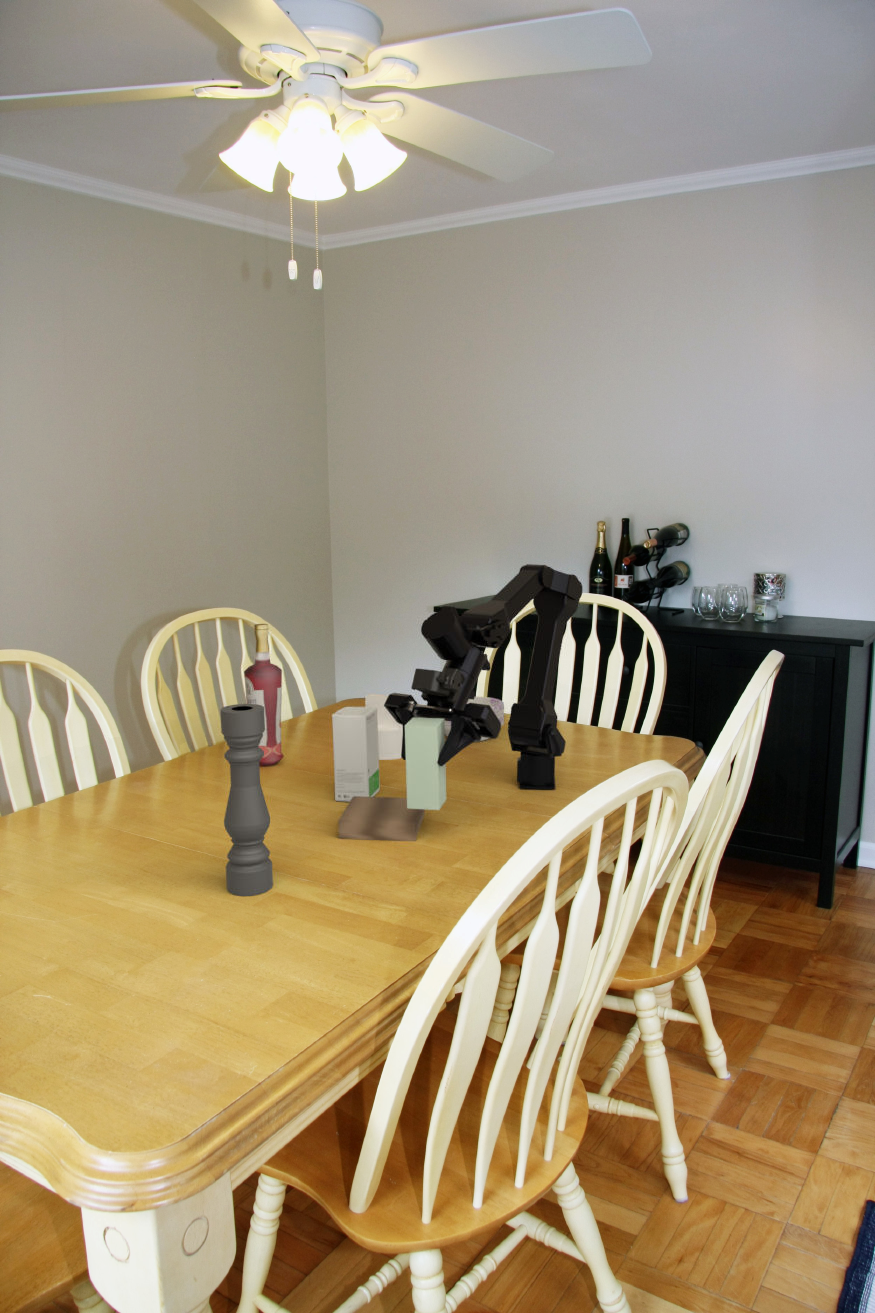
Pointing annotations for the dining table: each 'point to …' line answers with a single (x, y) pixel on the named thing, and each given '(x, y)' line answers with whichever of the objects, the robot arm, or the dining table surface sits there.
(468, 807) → the dining table surface
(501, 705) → the paper bowls
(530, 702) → the robot arm
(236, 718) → the candle holder
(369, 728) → the skincare box
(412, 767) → the sage pillar block
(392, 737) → the base with upright slab
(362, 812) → the walnut block
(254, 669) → the liquor
